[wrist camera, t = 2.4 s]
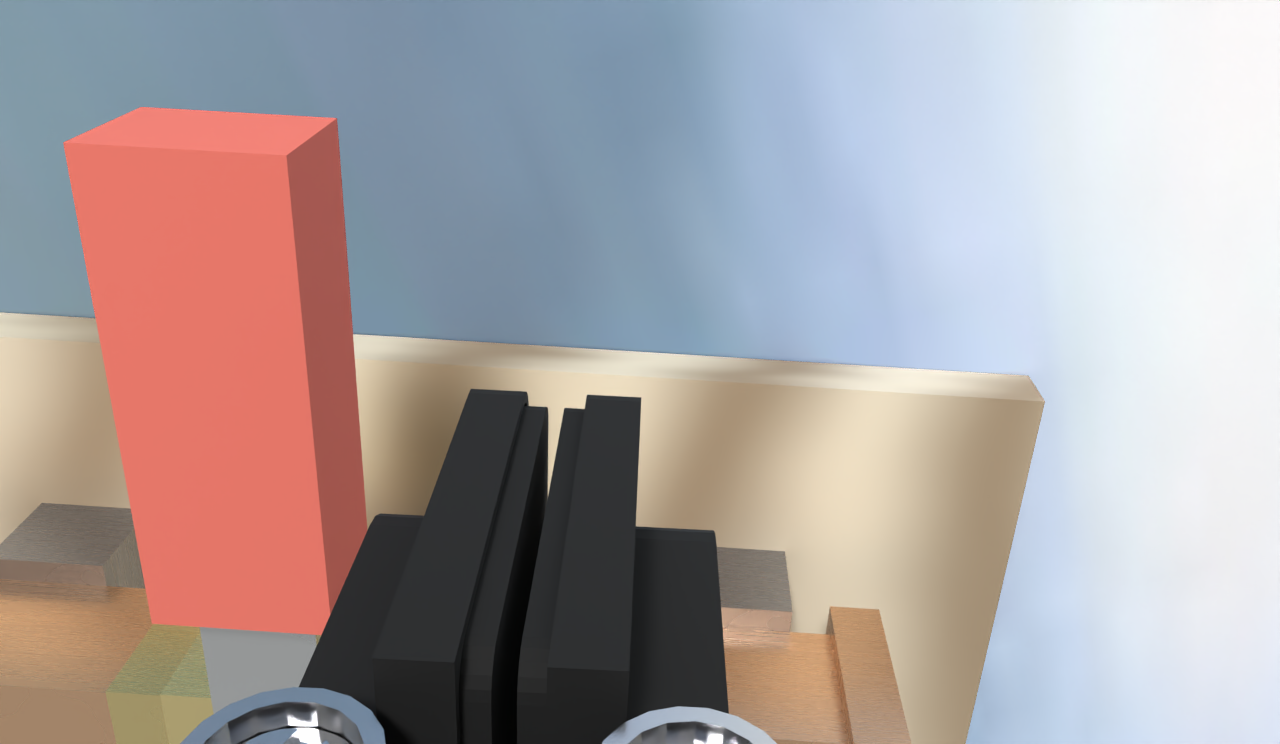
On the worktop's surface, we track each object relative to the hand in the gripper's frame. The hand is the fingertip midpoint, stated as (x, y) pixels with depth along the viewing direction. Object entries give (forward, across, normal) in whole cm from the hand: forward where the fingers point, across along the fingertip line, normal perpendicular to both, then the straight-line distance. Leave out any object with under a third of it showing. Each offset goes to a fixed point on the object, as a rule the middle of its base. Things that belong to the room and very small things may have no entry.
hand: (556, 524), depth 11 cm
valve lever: (+4, +4, +4) cm, 7 cm away
